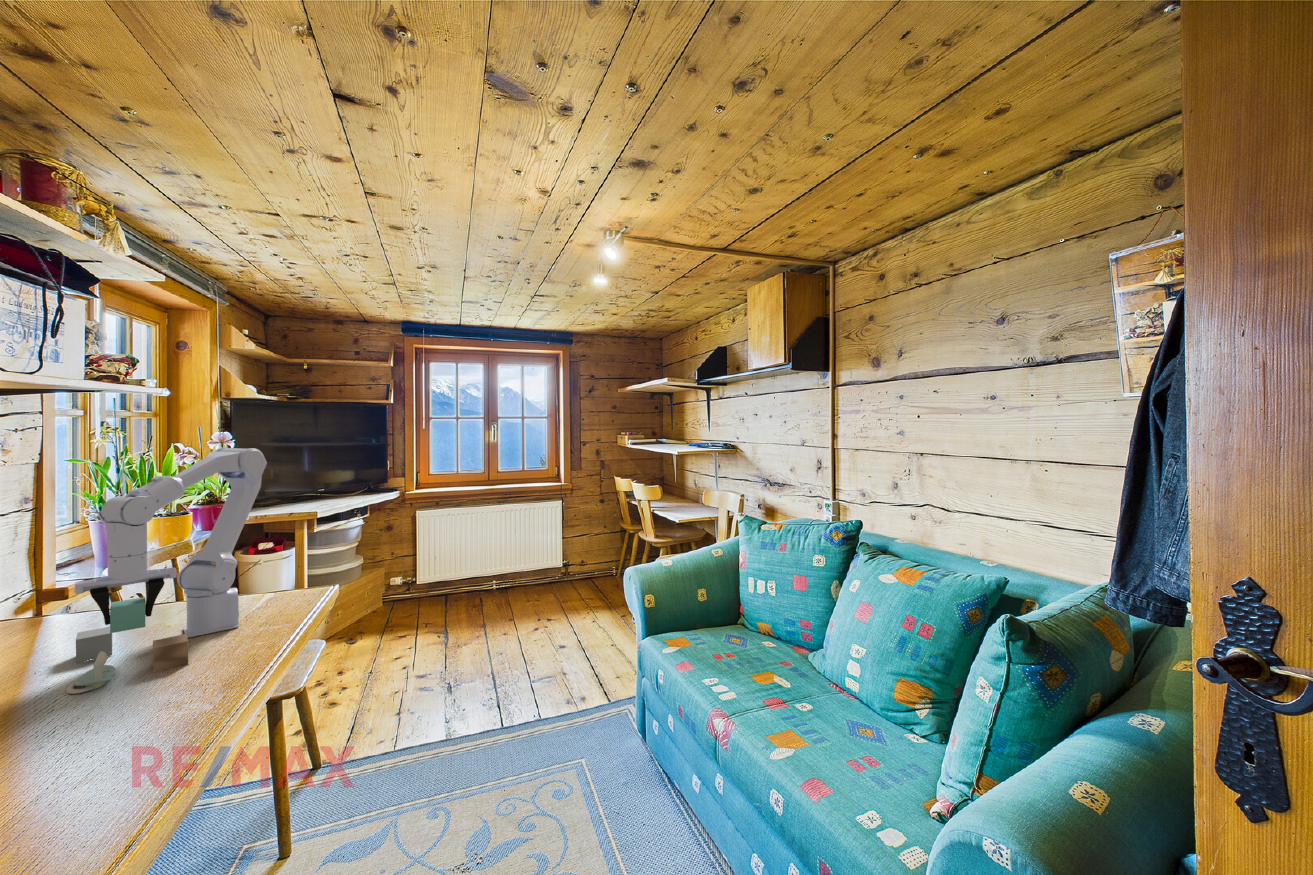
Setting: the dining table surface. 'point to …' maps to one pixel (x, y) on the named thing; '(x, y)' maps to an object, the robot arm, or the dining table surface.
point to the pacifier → (93, 676)
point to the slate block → (93, 644)
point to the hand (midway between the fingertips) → (128, 619)
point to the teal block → (127, 615)
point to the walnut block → (170, 653)
